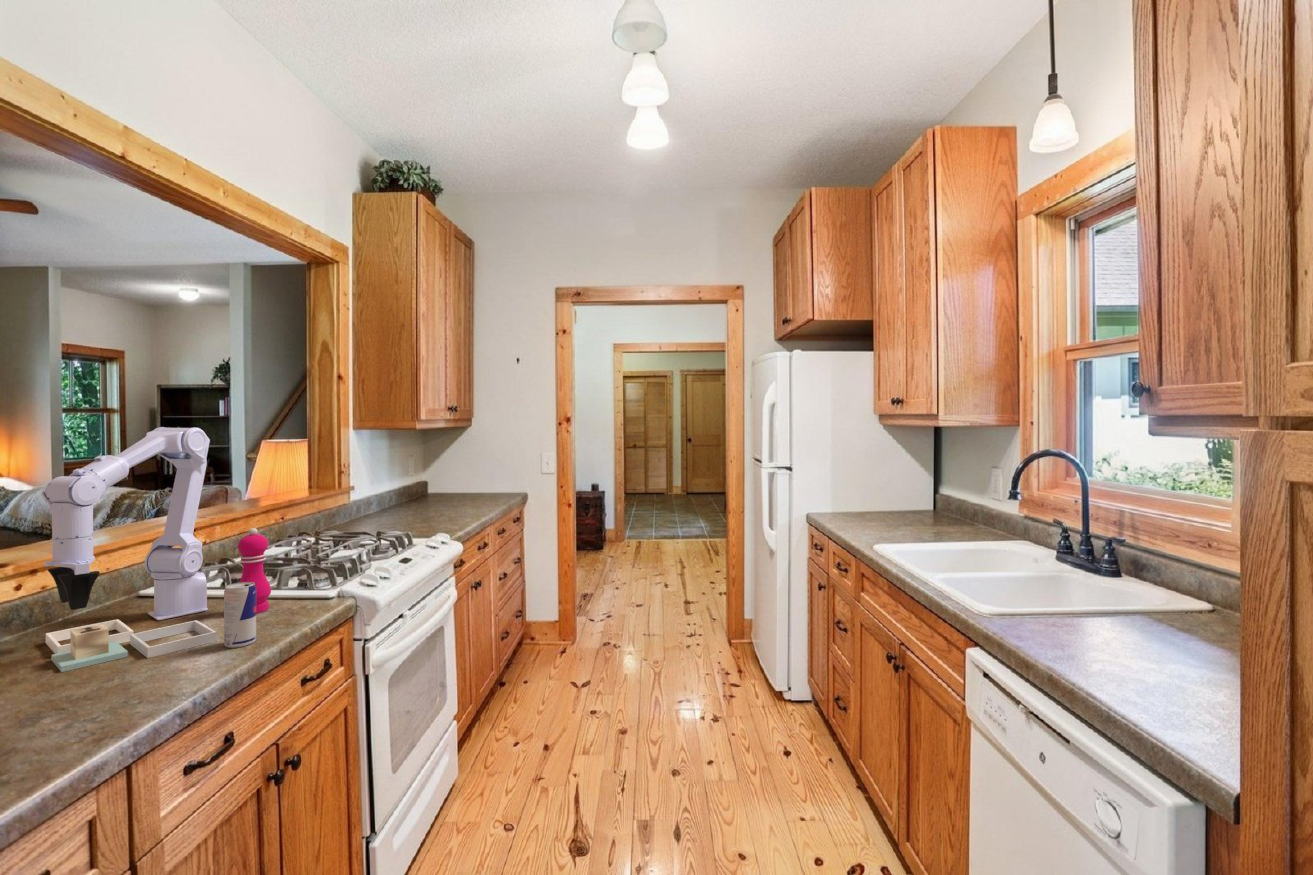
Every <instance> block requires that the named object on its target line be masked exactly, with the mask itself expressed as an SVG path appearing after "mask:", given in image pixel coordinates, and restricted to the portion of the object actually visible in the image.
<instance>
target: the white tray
mask: <svg viewBox="0 0 1313 875" xmlns="http://www.w3.org/2000/svg"><path fill="white" fill-rule="evenodd" d="M101 624H103V625H104V626H106V627H107V628H108V629H109V631H114V630H116V631H117V633H114V634H109V642H113V641H116V642H117V643H118V644H120V645H121V644H125V643H128V642H129V643H130V634H134V632H135V631H134V630H133V629H132V628H131V627H129V626H128V625H127V624H125V623H124V622H122V620H120V619H112V620H108V621H102V622H96V623H91V624H86V625H81V626H77V627H71V628H66V629H61V630H57V631H52V632H46V633H45V644H46V645H47V646H48V648H49V649H50V650H51V652H53V654H58V653H62V652H67V651H71V645H70V643H66V644H63V645H61V644H60V642H61V641H66V640H70V630H76V629H81V628H86V627H91V626H96V625H101Z"/></svg>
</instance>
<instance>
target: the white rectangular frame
mask: <svg viewBox="0 0 1313 875" xmlns="http://www.w3.org/2000/svg"><path fill="white" fill-rule="evenodd" d="M192 631H193V632H194V631H195V632H196V633H198V635H194V636H190V637H186V638H181V639H178V640H172V641H168V642H164V643H160V644H155V645H151V646H150V645H149V644H148V643H146V642H149V641H153V640H157V639H158V640H159V639H162V638H167V637H171V636H177V635H181V634H184V633H189V632H192ZM217 636H218V631H216V630H214V629H213V628H211V627H209V626H207V625H206V624H204V623H202V622H201V621H199V620H197V619H195V620H191V621H186V622H182V623H177V624H172V625H168V626H163V627H158V628H153V629H149V630H143V631H140V632H136V633H134V634H130V641H129V645H130V646H132V647H133V648H134V649H136V651H138V652H139V653H140V654H142V655H143V656H144V657H145V658H146V659H150V658H154V657H155V658H156V657H159V656H162V655H167V654H172V653H175V652H178V651H183V650H187V649H191V648H192V649H193V648H195V647H200V646H205V645H209V644H211V643H216V642H217V640H218V639H217V638H218V637H217Z"/></svg>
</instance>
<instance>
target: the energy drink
mask: <svg viewBox="0 0 1313 875" xmlns="http://www.w3.org/2000/svg"><path fill="white" fill-rule="evenodd" d="M256 640H257V613H256V586H255V583H253V582H241V583H239V582H235V583H230V584H228V585H225V588H224V591H223V645H224V646H225V648H230V649H235V648H242V647H246V646H250V645H252V644H254V643H255V641H256Z"/></svg>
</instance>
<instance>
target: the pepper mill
mask: <svg viewBox="0 0 1313 875" xmlns="http://www.w3.org/2000/svg"><path fill="white" fill-rule="evenodd" d="M268 541H269V540H268V539H267V538H266V536H265V535H262V534H259V532H258V529H257V528H255V527H252V528H250V529H249V530H248V535H245V536H243V537H242V538H240V540H239V541H238V544H237V551H239V553H240V554H241V555H240V561H239V562H240V563H242V575H241V577H240V580H239V581H238V583H241V582H253V583H255V586H256V614H259V613H260V614H261V613H263V612H266V611H268V610H269V606H270V605H269V604H270V602H269V600H267V599H268V598H270V595H271V594H272V590H271V589H272V588H271V584H270V582H269V580H268V578H267V576H266V575H265V570H264V561H266V559H267V558H266V553H265V552H266V551H267V549H268V547H269V542H268Z"/></svg>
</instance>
